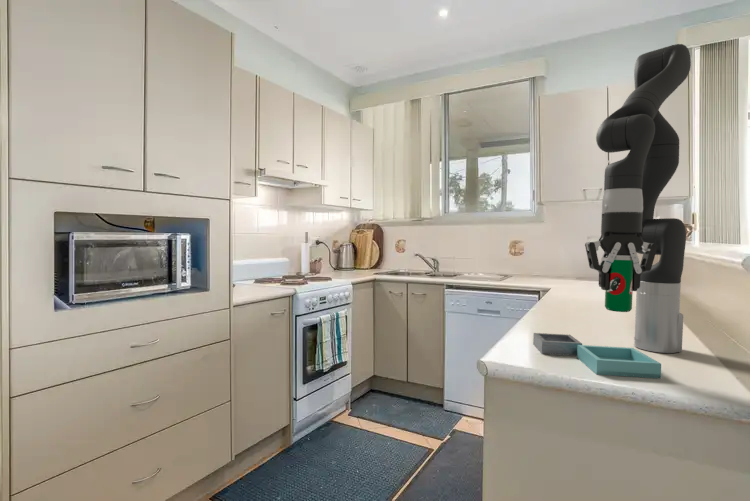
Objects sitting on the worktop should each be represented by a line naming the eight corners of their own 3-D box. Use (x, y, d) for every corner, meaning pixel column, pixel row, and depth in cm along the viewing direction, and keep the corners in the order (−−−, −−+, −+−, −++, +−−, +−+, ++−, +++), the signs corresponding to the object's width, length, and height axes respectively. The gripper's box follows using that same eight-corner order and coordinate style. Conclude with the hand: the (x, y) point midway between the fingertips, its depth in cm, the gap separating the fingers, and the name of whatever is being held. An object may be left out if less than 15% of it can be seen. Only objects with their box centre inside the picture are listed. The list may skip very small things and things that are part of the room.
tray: (632, 360, 94) (633, 347, 94) (660, 378, 82) (661, 363, 82) (577, 357, 96) (577, 344, 96) (596, 374, 84) (597, 359, 84)
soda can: (635, 313, 86) (638, 255, 85) (609, 311, 87) (611, 255, 86) (626, 309, 91) (628, 254, 90) (601, 307, 92) (603, 254, 91)
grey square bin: (569, 346, 106) (570, 334, 106) (581, 356, 97) (582, 343, 97) (533, 344, 107) (533, 332, 107) (541, 353, 99) (542, 341, 98)
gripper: (649, 212, 91) (646, 289, 91) (580, 212, 93) (577, 287, 93) (668, 210, 83) (664, 294, 84) (592, 209, 85) (589, 291, 86)
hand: (618, 289), depth 89 cm, fingers closed on soda can, 5 cm apart
